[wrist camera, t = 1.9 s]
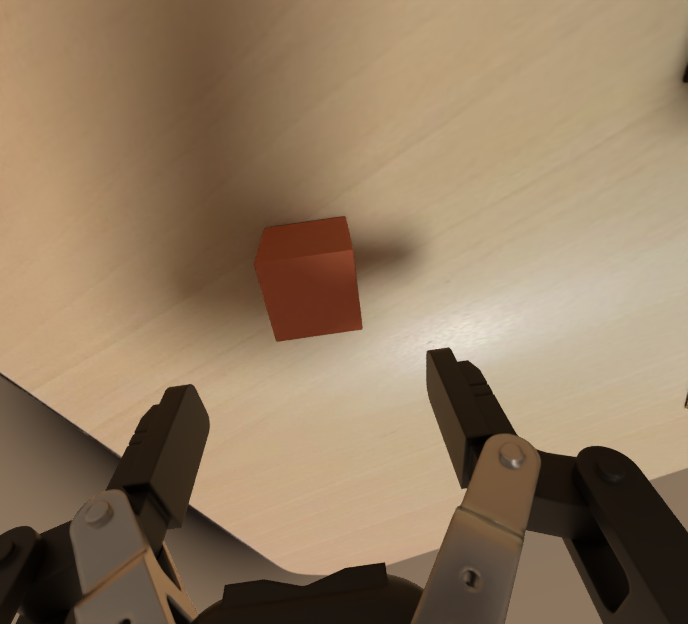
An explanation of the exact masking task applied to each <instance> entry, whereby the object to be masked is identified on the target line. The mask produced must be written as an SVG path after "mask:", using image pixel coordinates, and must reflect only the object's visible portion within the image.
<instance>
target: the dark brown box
mask: <svg viewBox="0 0 688 624" xmlns="http://www.w3.org/2000/svg"><path fill="white" fill-rule="evenodd" d="M683 82H685V83H688V68H687V71H686V74H685V77H684V80H683Z"/></svg>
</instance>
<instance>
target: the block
mask: <svg viewBox="0 0 688 624" xmlns="http://www.w3.org/2000/svg"><path fill="white" fill-rule="evenodd" d="M254 266H255V270H256V273H257V276H258V280H259V283H260V287H261V290H262V294H263V297H264V301H265V304H266V308H267V311H268V315H269V318H270V322H271V325H272V328H273V332H274V335H275V339H276V341H277V342H278V341H285V340H292V339H299V338H306V337H313V336H320V335H327V334H334V333H340V332H347V331H354V330H361V329H362V328H363V327H362V319H361V311H360V302H359V294H358V286H357V277H356V269H355V261H354V252H353V247H352V242H351V238H350V234H349V229H348V225H347V221H346V217H338V218H331V219H324V220H317V221H310V222H303V223H297V224H290V225H283V226H276V227H269V228H265V229H264V232H263V236H262V239H261V242H260V246H259V249H258V252H257V256H256V259H255V262H254Z"/></svg>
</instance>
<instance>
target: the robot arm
mask: <svg viewBox="0 0 688 624" xmlns="http://www.w3.org/2000/svg"><path fill="white" fill-rule="evenodd" d="M426 382H427V391H428V396H429V400H430V403H431V406H432V409H433V411H434V414H435V417H436V420H437V422H438V425H439V428H440V431H441V433H442V436H443V439H444V442H445V445H446V447H447V450H448V453H449V456H450V458H451V461H452V464H453V467H454V470H455V472H456V475H457V478H458V481H459V483H460V486H461V489H464V488H467V491H466V493H465V496H464V499H463V501H462V503H461V505H460V506H458V507H457V508H456V510H455V512H454V514H453V517H452V519H451V522H450V524H449V527H448V529H447V532H446V534H445V537H444V539H443V542H442V545H441V547H440V550H439V552H438V555H437V558H436V560H435V563H434V565H433V568H432V570H431V573H430V575H429V578H428V581H427V583H426V586H425V588H424V589H423V588H421V587H420V586H418V585H417V584H415V583H413V582H411V581H409V580H407V579H404V578H401V577H397V576H394V575H389V574H387V573H386V566H385V563H377V564H370V565H363V566H356V567H349V568H344V569H342V570H340V571H338V572H336V573H333V574H331V575H329V576H327V577H325V578H323V579H320V580H318V581H316V582H314V583H311V584H309V585H306V586H298V585H293V584H287V583H281V582H275V581H270V580H257V581H250V582H243V583H236V584H228V585H225V587H224V593H223V599H222V600H220V601H218V602H216V603H214V604H213V605H211V606H210V607H208V608H207V609H205V610H204V611H203V612H202V613H200V614H199V613H198V612H197V610H196V608H195V607H194V605H193V604H192V602H191V600H190V599H189V597H188V594H187V592H186V590H185V588H184V585H183V583H182V581H181V578H180V576H179V574H178V571H177V569H176V567H175V565H174V562H173V560H172V558H171V555H170V553H169V551H168V549H167V547H166V544H165V543H164V541H163V540H164V537H165V534H166V531H167V529H174V528H181V527H182V524H183V521H184V517H185V514H186V510H187V507H188V503H189V500H190V496H191V493H192V489H193V486H194V482H195V479H196V475H197V472H198V469H199V465H200V462H201V458H202V455H203V451H204V448H205V444H206V441H207V437H208V434H209V428H210V422H209V416H208V413H207V411H206V409H205V407H204V405H203V403H202V401H201V399H200V397H199V395H198V393H197V390H196V388H195V387H194V386H193V385H192V384H189V385H182V386H175V387H169V388H167V389H166V391H165V393H164V395H163V397H162V399H161V402H160V404H157V405H153V406H152V407H151V408H150V409H149V410H148V412H147V413H146V414H145V415H144V416H143V417H142V418H141V420H140V422H139V424H138V426H137V428H136V430H135V435H133V436H132V438H131V440H130V442H129V446H127V448H126V450H125V452H124V454H123V456H122V458H121V460H120V462H119V464H118V466H117V468H116V471H115V473H114V474H113V477H112V479H111V481H110V483H109V485H108V487H107V489H106V490H105V491H104V492H102V493H99V494H97V495H96V496H94V497H93V498H91V499H90V500H89V501H87V502H86V503H85V504H84V505H83V506H82V507H81V508H80V509H79V511H78V512H77V513H76V515H75V516H74V518H73V520H71V521H69V522H66V523H64V524H62V525H59V526H57V527H55V528H53V529H50V530H48V531H46V532H43V533H41V534H38V533H37V532H36V531H35V530H33V529H32V528H31V527H28V526H21V527H16V528H13V529H11V530H9V531H7V532H5V533H3V534H2V535H0V624H11V623H12V621H13V619H14V617H15V615H16V613H19V614H20V616H19V618H18V620H17V622H16V624H505V620H506V615H507V611H508V607H509V603H510V598H511V594H512V589H513V585H514V581H515V577H516V573H517V568H518V564H519V560H520V555H521V551H522V546H523V542H524V536H525V531H526V530H528V531H534V532H538V533H544V534H548V535H553V536H558V537H562V539H563V541H564V543H565V545H566V547H567V549H568V551H569V553H570V555H571V558H572V560H573V561H574V563H575V566H576V568H577V570H578V572H579V574H580V576H581V578H582V580H583V583H584V585H585V587H586V589H587V591H588V593H589V595H590V597H591V599H592V601H593V604H594V606H595V608H596V610H597V612H598V614H599V616H600V618H601V620H602V622H603V624H688V532H687V531H686V530H685V528H684V527H683V526H682V524H681V523H680V522H679V520H678V519H677V518H676V516H675V515H674V514H673V512H672V511H671V510H670V508H669V507H668V506H667V505H666V503H665V502H664V500H663V499H662V498H661V496H660V495H659V494H658V493H657V491H656V490H655V489H654V487H653V486H652V485H651V483H650V482H649V480H648V479H647V478H646V476H645V475H644V474H643V473H642V471H641V470H640V469H639V467H638V466H637V465H636V464H635V463H634V462H633V461H632V460H631V459H629V458H628V457H627V456H625V455H624V454H622V453H620V452H618V451H616V450H613V449H611V448H607V447H602V446H591V447H587V448H584V449H583V450H581V451H580V452H579V454H578V456H577V457H572V456H565V455H558V454H551V453H546V452H543V451H540V450H537V449H535V448H534V447H533V446H532V445H531V444H530V443H529V442H528V441H526V440H525V439H523V438H521V437H519V436H518V435H517V434H516V432H515V431H514V429H513V427H512V425H511V424H510V422H509V420H508V418H507V417H506V415H505V413H504V411H503V410H502V408H501V406H500V404H499V402H498V401H497V399H496V397H495V395H493V392H492V390H491V388H490V387H489V385H487V381H486V380H485V378H484V376H483V374H482V373H481V371H480V370H479V369H478V368H477V367H476V366H474V365H473V364H472V363H471V362H469V361H468V360H467V361H460V362H457V360H456V358H455V356H454V354H453V352H452V350H451V349H450V348H442V349H435V350H428V351H427V354H426Z"/></svg>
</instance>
